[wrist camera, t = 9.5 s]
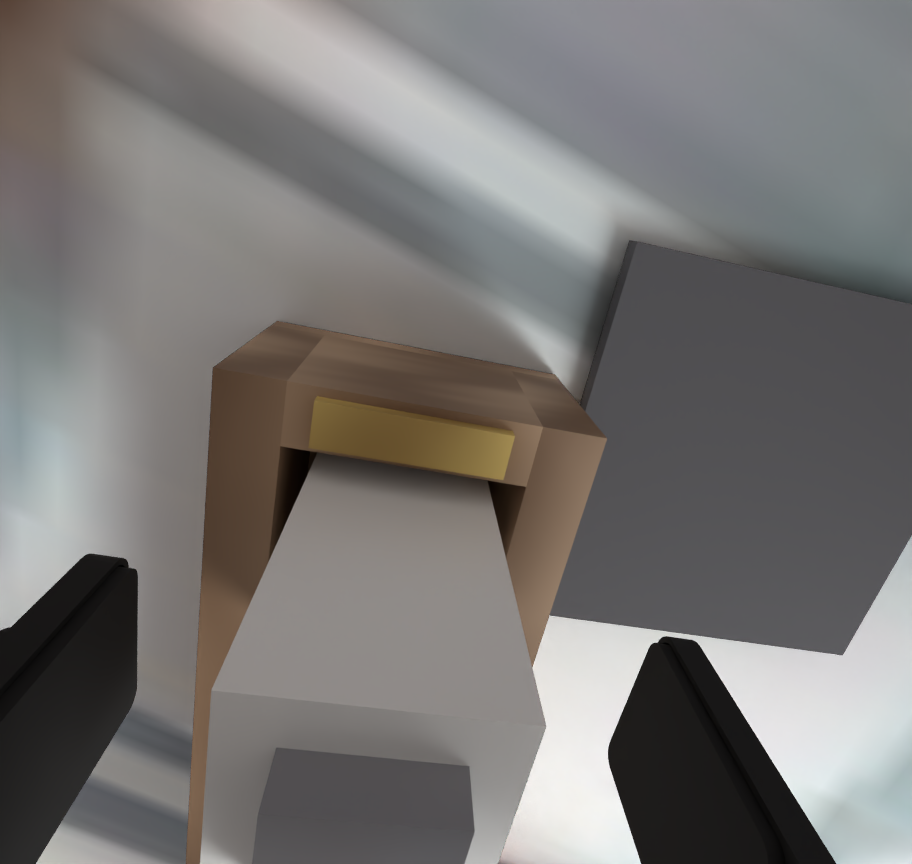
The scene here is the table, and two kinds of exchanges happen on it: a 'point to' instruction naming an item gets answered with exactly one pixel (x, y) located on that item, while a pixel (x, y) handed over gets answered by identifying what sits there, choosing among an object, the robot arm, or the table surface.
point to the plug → (374, 682)
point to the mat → (743, 455)
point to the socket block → (385, 441)
